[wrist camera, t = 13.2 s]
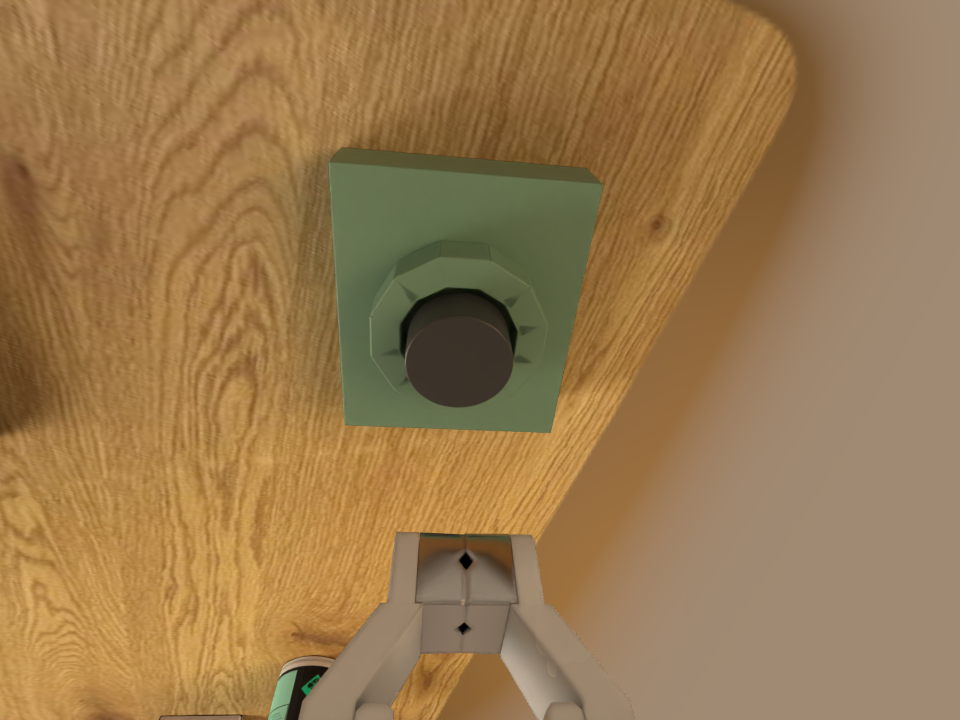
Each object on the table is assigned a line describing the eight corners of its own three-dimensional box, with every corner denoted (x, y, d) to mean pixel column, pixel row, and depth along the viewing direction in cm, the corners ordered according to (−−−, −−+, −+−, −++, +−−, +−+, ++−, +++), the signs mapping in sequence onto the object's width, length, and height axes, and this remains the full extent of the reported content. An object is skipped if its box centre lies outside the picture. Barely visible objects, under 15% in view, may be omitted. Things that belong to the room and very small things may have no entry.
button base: (341, 146, 20) (316, 173, 17) (587, 168, 21) (617, 197, 18) (353, 392, 27) (337, 451, 23) (542, 400, 28) (557, 459, 24)
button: (408, 288, 19) (404, 313, 18) (514, 294, 20) (520, 320, 18) (407, 376, 21) (403, 406, 20) (502, 380, 22) (507, 410, 20)
